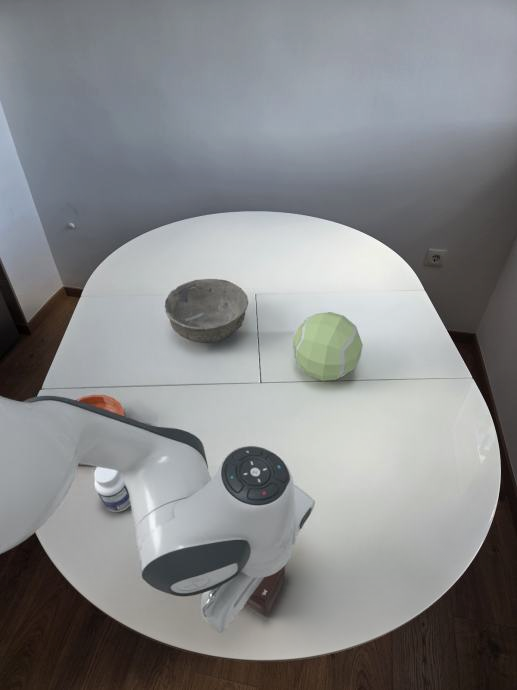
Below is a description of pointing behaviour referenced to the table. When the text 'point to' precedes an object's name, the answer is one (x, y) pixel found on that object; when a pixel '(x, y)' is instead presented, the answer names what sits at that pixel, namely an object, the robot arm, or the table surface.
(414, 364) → the table surface
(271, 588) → the box
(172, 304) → the bowl
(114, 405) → the clay bowl
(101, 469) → the pill bottle
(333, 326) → the green ball
